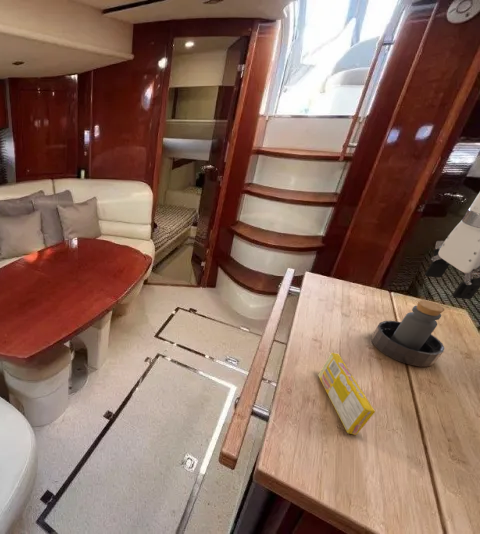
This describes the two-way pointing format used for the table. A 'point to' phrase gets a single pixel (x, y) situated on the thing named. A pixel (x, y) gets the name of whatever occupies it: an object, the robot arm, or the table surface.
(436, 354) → the pan
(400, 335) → the bottle
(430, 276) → the robot arm
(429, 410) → the table surface
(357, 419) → the candy box
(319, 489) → the table surface
